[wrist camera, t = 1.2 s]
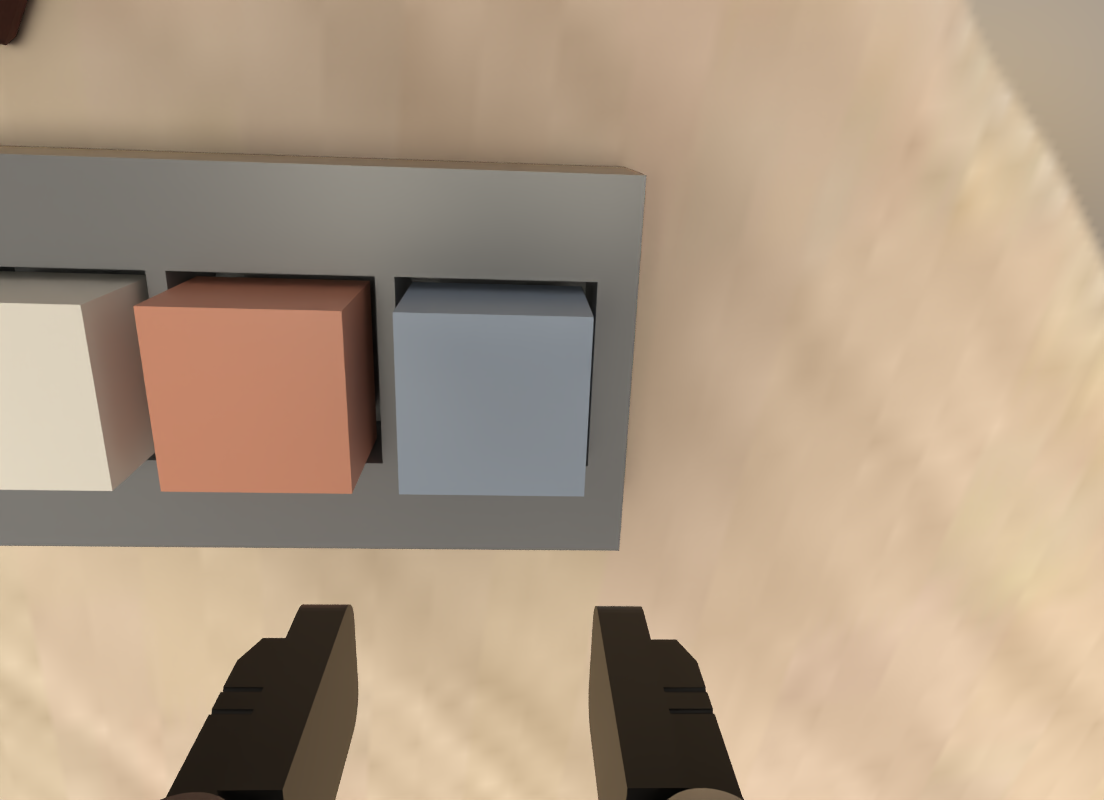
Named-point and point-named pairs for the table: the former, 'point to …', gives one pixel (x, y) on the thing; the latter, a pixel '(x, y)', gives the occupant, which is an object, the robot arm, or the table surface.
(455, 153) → the table surface
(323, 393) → the key terracotta
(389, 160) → the console
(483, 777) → the table surface
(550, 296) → the key blue
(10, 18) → the book
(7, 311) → the key white
